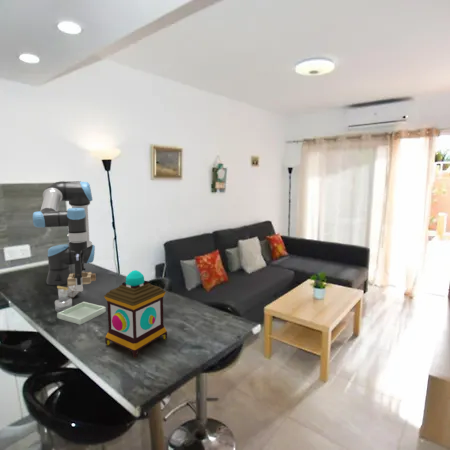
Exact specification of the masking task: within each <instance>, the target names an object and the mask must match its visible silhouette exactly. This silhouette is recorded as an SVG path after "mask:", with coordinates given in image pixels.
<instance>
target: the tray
mask: <svg viewBox="0 0 450 450" xmlns="http://www.w3.org/2000/svg"><path fill="white" fill-rule="evenodd" d="M106 312H107V307H106V306H104V305H101V304H100V305H99V304H96V303H91V302H87V301H82V302H80V303H77V304H75V305H72V307H70V308H68V309H66V310H63V311H61V312H57V313H56V317H57V319H59V320H62V321H65V322H69V323H72V324H77V325H83V324H86V323H87V322H89V321H91V320H92V319H95V318H96V317H99V316H100V315H102V314H105V313H106Z"/></svg>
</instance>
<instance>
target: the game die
mask: <svg viewBox="0 0 450 450" xmlns="http://www.w3.org/2000/svg"><path fill="white" fill-rule="evenodd" d="M65 285H66V286H65V287H67V288H68V290H67V293H68V297H69V298H72V300H73V299H74V298H75V297H77V296H78V294H79V293H81V292H82V291H79V292H76V285H72V286H68V284H65Z"/></svg>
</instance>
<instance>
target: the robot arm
mask: <svg viewBox="0 0 450 450" xmlns="http://www.w3.org/2000/svg"><path fill="white" fill-rule="evenodd" d="M90 185H91V184H90V182H88V181H81V180H80V181H79V180H78V181H65V180H64V181H63V180H62V181H56V182H53V183H51V184H49V185H48V186H46V188H44V190H43V192H42V198H43V200H42V204H41V208H40V211H39V210H38V211H34V212H33V213H32V224H33V227H35V228H43V229H44V228H60V227H62V228H63V227H67V228H68V229H67V230H68V231H67V232H68V234H67V235H66V236H67V237H68V241H69V242H68V243H65V244H64V243H63V244H57V245H53V246H51V247H50V248H49V247H48V249H47V259H48V261H47V262H48V273H47V277H46V284H47V285H48V286H62V285H68V282H67V279H68V277H69V275H70V274H71V273H73V272H72V270H71V266H72V265H74V273H75V277H74V278H76V292H79V291H81V292H83V291H84V284H83V281H82V272H85V271H86V268H85V264H90V263H91V264H92V263H93V262H94V259H95V250H96V246H95V244H93V243H92V241H91V240H90V225H89V208H88V207H89V205H91V202H92V201H93V196H92V189H91V186H90ZM60 202H68V204H69V206H71V208H67V210H62V211H61V210H59V209H60ZM79 293H80V292H79Z"/></svg>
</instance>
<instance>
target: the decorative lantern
mask: <svg viewBox="0 0 450 450" xmlns="http://www.w3.org/2000/svg"><path fill="white" fill-rule="evenodd" d="M165 295H166V290H164V289H163V288H162V287H160V286H157V285H153V284H152V283H149V281H148V280H146V279H145V276H144V274H143V273H142V272H141V271H139V270H135V269H134V270H132V271H130V272H129V273H128V274H127V275H126V277H125V281H124V282H122V284H120V285H119V286H117V287H116V288H112V289H110V290H109V291H108V292H106V294H104V296H103V297H104V299H105V300H106V302H107V321H108V322H107V323H108V331H107V333H106V335H105V338H104V341H105V345H106V346H110V344H111V343H114V344H116V345H118V346H120V347H122V348H124V349H126V350H129V351H130V352H131V353H132V357H133V358H134V359H137V357H138V352H139V351H140V350H141V349H143V348H144V347H146V346H148V345H149V344H151V343H152V342H155V341H157V339H159V338H161V337H162V338H163V340H166V339H168V330H167V329H166V327H165V325H164V297H165Z"/></svg>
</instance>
